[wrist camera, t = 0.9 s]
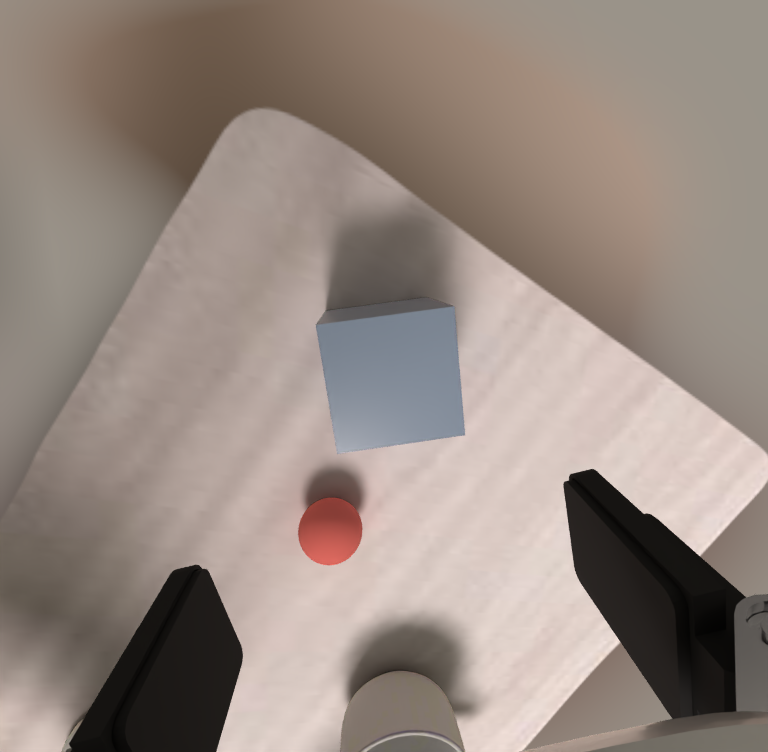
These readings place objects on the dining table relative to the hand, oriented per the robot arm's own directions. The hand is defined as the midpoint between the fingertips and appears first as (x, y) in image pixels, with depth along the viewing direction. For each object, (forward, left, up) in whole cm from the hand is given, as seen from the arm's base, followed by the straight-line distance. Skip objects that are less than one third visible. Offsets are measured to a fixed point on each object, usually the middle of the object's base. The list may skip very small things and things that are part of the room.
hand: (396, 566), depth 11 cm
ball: (-12, +5, -20) cm, 24 cm away
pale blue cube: (+1, -1, -23) cm, 23 cm away
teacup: (-34, +1, -23) cm, 41 cm away
